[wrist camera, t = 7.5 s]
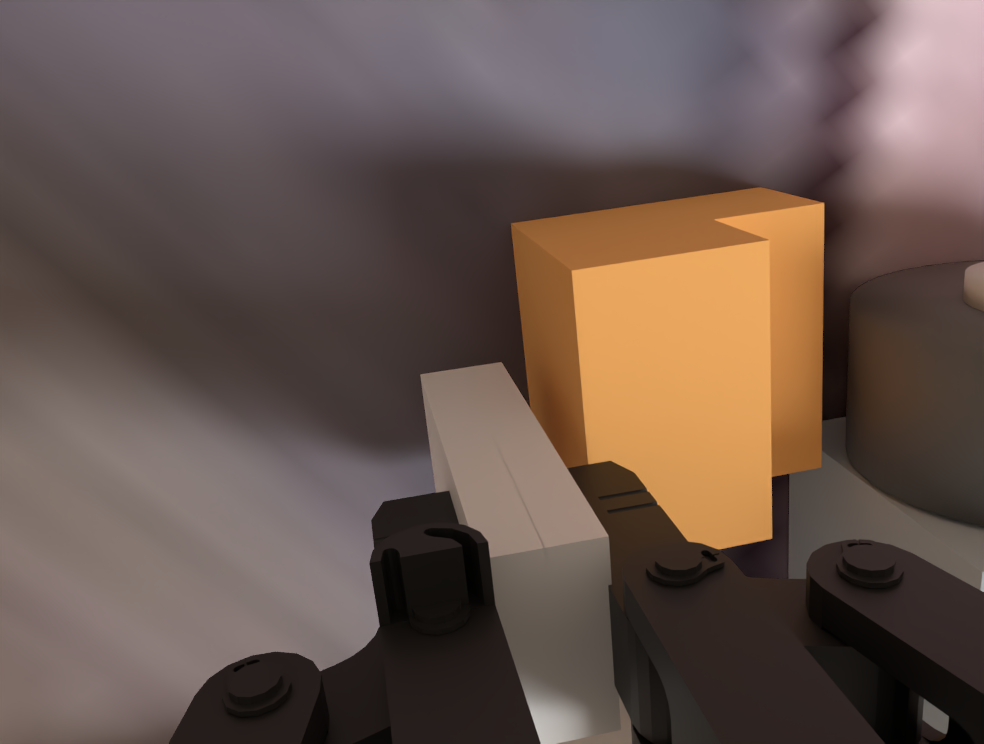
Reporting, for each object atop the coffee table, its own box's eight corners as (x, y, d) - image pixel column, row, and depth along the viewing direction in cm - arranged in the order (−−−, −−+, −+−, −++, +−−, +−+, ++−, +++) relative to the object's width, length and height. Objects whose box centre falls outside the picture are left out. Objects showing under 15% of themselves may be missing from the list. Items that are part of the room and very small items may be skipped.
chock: (534, 461, 19) (597, 573, 14) (508, 222, 17) (571, 270, 13) (760, 419, 19) (883, 516, 15) (757, 186, 18) (895, 220, 13)
